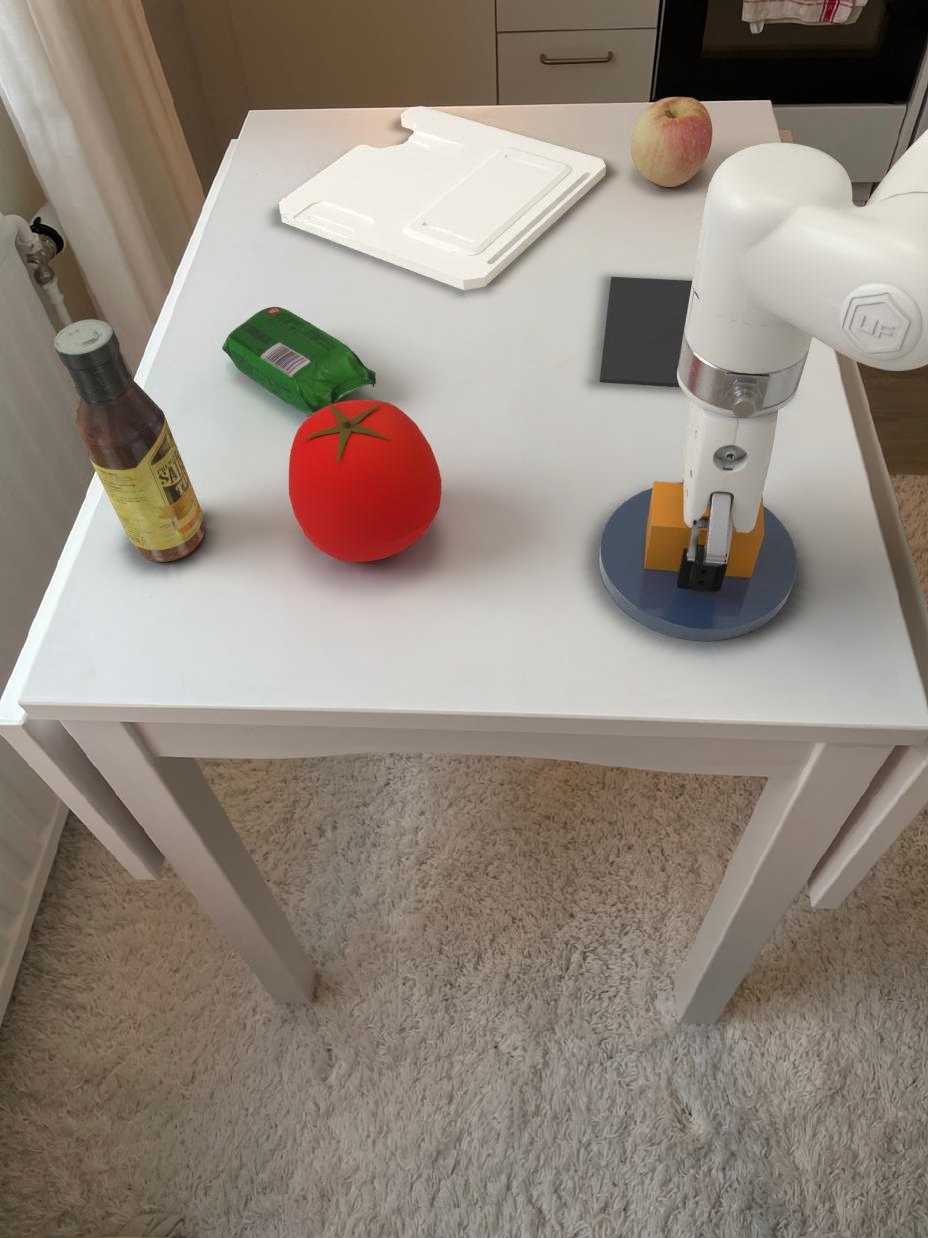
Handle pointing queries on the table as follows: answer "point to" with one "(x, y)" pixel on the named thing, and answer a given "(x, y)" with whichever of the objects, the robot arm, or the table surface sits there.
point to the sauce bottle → (130, 445)
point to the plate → (690, 610)
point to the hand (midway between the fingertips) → (698, 543)
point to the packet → (673, 534)
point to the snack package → (296, 360)
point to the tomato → (363, 480)
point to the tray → (444, 197)
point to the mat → (644, 330)
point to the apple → (671, 140)
